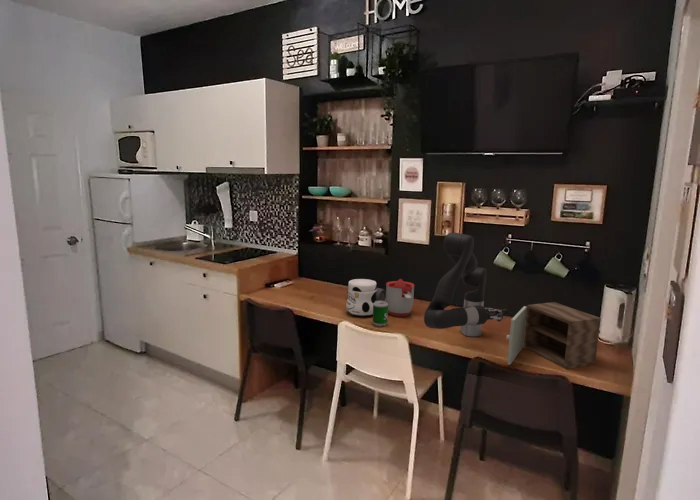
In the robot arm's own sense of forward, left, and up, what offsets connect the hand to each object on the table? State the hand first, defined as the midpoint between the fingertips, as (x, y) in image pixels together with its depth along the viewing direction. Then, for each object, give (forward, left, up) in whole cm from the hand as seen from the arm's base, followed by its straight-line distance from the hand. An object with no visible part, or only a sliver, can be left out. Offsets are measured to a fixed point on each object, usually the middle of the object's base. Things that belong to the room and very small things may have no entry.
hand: (507, 312), depth 180 cm
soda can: (-43, +48, -22) cm, 69 cm away
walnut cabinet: (+28, +5, -22) cm, 36 cm away
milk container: (-50, +66, -22) cm, 86 cm away
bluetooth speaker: (-44, +89, -22) cm, 102 cm away
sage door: (+8, +6, -21) cm, 23 cm away
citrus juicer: (-29, +64, -22) cm, 74 cm away
